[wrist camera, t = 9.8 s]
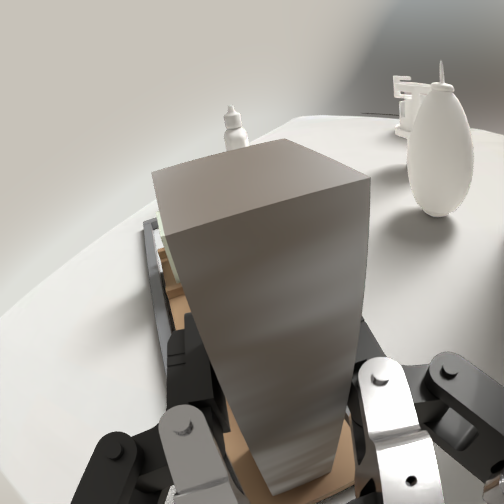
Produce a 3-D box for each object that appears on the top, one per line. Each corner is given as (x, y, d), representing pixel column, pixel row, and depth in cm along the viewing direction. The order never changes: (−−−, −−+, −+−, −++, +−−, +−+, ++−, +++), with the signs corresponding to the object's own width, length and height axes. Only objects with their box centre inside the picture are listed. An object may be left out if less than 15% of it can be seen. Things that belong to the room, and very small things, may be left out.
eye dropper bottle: (262, 173, 50) (251, 101, 44) (248, 187, 46) (235, 107, 40) (238, 173, 52) (225, 103, 45) (222, 187, 48) (207, 110, 41)
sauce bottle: (411, 229, 31) (415, 56, 21) (399, 198, 37) (398, 56, 27) (473, 231, 29) (488, 67, 19) (453, 200, 35) (460, 63, 25)
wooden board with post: (229, 247, 33) (198, 94, 24) (371, 475, 12) (491, 177, 4) (164, 268, 31) (117, 116, 23) (245, 529, 11) (9, 335, 3)
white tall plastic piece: (396, 158, 50) (395, 74, 41) (435, 163, 46) (436, 78, 38) (392, 171, 45) (390, 76, 37) (435, 177, 41) (438, 80, 33)
